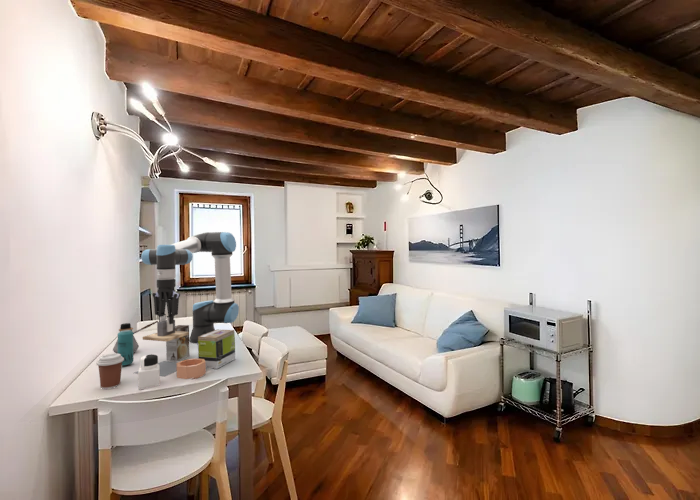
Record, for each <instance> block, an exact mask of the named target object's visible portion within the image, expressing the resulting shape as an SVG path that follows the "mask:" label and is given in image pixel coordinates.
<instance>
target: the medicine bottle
mask: <svg viewBox="0 0 700 500" xmlns="http://www.w3.org/2000/svg"><path fill="white" fill-rule="evenodd" d="M158 363H159V356H158V355H157V354H152V353H151V354H146V355H143V356H141V357H140V360H139V365H140V366H139V368H138V374H137V381H138V382H137V384H138V385H137V390H138V391H143V390H145V389H147V388H148V389H149V388H154V387H159V386H160V381H161V380H160V379H161V376H160V365H159V364H158Z"/></svg>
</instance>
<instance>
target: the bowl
mask: <svg viewBox="0 0 700 500" xmlns="http://www.w3.org/2000/svg"><path fill="white" fill-rule="evenodd" d="M177 362H178V363H176V365H177V371H176V378H177V379H183V380H189V379H192V380H196V379H199V378H201V377H203V376H205V375H206V373H207V371H206V368H207V367H206V362H205V360H204V359H199V357H194V358H187V359H182V360H179V361H177Z"/></svg>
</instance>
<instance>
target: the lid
mask: <svg viewBox="0 0 700 500" xmlns="http://www.w3.org/2000/svg"><path fill="white" fill-rule="evenodd" d="M156 326H157V328H156V330H157V332H155V333H152V334H148V335H144V336H142V340H143V341H155V342H165V343H166V342H167V341H170V340H173V339H176V338H179V337H183V336H186V335H189V336H190V331H189V332H183V331H175V326H176V319H174V323H173V331H170V332H167V319H166V320H165V321H161V322H159V321H158V322H157V323H156Z"/></svg>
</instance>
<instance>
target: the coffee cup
mask: <svg viewBox="0 0 700 500" xmlns="http://www.w3.org/2000/svg"><path fill="white" fill-rule="evenodd" d="M123 361H124V358H123V357H122V356H121V354H118V353H115V352H114V353H108V354H104V355H102V356H101V355H100V357H99V359H98V360H97V361H96V364H95V365H96V366H98V375H99V384H100V389H101V388H102V389H101V390H109V389H108V388H111V389H114V387H115V388H116V387H117V386H119V385H120V384H121V376H122V368H123V365H122V362H123ZM117 388H118V387H117Z"/></svg>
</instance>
